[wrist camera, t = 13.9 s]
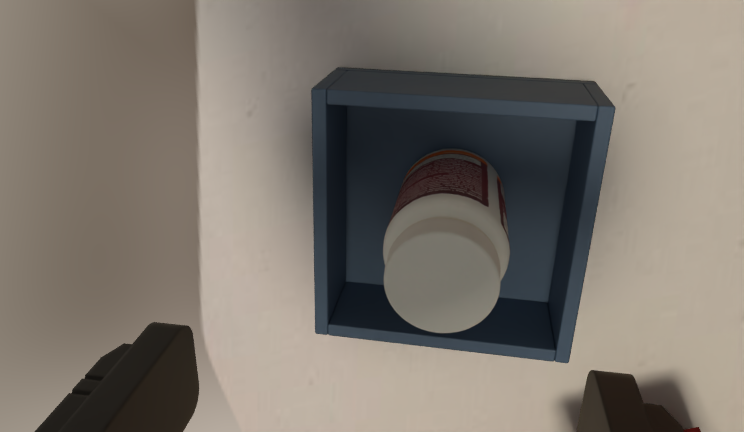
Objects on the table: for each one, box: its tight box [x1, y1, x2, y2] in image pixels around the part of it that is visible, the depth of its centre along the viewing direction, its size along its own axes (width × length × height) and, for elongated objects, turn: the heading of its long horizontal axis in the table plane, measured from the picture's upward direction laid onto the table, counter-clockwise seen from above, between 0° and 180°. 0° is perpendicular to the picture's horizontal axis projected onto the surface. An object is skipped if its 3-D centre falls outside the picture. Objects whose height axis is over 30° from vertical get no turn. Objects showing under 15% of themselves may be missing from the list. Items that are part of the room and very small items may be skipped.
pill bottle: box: [383, 149, 510, 333], centre depth 25 cm, size 5×5×8 cm
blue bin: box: [311, 67, 615, 363], centre depth 27 cm, size 11×11×5 cm
